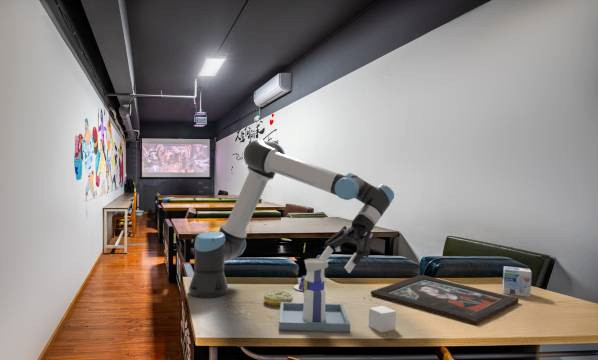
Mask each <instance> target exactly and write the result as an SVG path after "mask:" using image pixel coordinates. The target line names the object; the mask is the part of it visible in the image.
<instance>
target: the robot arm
mask: <svg viewBox="0 0 598 360" xmlns="http://www.w3.org/2000/svg"><path fill="white" fill-rule="evenodd" d="M243 159H244V162H245V164H246V165H247V170H248V174H247V176H246V178H245V181H244V183H243V185H242V187H241V190H240V192H239V194H238V196H237V198H236V200H235V203H234V205H233V208H232V209H231V212H230V214H229V216H228V218H227V221H226V222H225V223H222V224H221V226H220V228H219V230H218V231H216V230H214V231H213V230H212V231H205V232H201V233H199V234H197V235H196V237H195V240H194V245H193V246H194V260H193V261H194V262H193V263H194V264H193V268H194V269H193V275H192V278H191V280H190V284H189V286H188V294H189V295H190V296H193V297H195V298H204V299H206V298H207V299H208V298H210V299H211V298H218V297H219V298H220V297H223V296H225V295H227V294H228V293H229V286H228V282H227V278H226V275H225V262H227V261H231V260H235V259H237V258H238V257H240V256H241V255H242V254H243V253H244V251H245V250H246V247H247V241H246V239H247V235H248V234H247V231H246V230H247V228H248V226H249V224H250V222H251V219H252V217H253V215H254V213H255V210H256V208H257V207H258V203H259V201H260V199H261V198H262V195H263V193H264V191H265V188H266V187H267V184H268V182H269V181H271V180H273V179H274V177H275V176H276V174H277V175H281V176H283V177H286V178H289V179H291V180H294V181H296V182H300V183H302V184H305V185H308V186H311V187H312V188H313V187H314V188H316V189H317V190H318V189H319V190H322V191H324V192H327V193H330V194H333V195H335V196H337V197H338V198H339V199H342V200H345V201H349V200H350V201H351V200H353V199H356V200H357V201H359V202H361V203H362V204H364V205H363V206H362V207H361V208H360V210H359V211H358V212H357V215H356V216H355V217H354V218H353V220H352V221H351V226H349V228H348V227H347V226H346V225H344V226H342V228H341V229H339V231H338V232H336V233H335V234H333V235H331V237H330V238H328V239H327V240H326V241H325V242H324V245H326V247H325V248H324V250H323V251H322V254H321V255H320V256H319V257H318V259H324V260H327V261H328V260H329V258H330V256H331V255H332V253H334V249H336V248H338V247H340V246H341V245H343V244H344V243H349V242H354V243H356V251H355V252H354V253H353V254H352V255H351V257H350V259H349V260H348V261H347V263H346V265H345V266H344V269H345V271H346V272H347V273H349V274H351V272H352V271H353V270H354V269H355V266H356V265H358V264H359V262H360V261H361V260H362V258H368V257H369V256H370V251H371V246H372V240H373V238H374V236H375V235H374V234H373V232H372V231H373V229H375V226H376V225H377V223H379V221H380V219H381V218H382V216H383V215H384V214H385V212H386V211H387V209H388V208H389V206H390V205H391V203H392V202H393V200H394V199H395V193H394V191H393V189H392V188H391V187H390V186H388V185H385V184H379V185H377V186H374V185H372V184H371V183H369V182H367V181H366V180H364V179H362V178H361V177H359V176H358V175H355V174H354V173H352V172H348V173H347V174H345V175H343V174H341V173H337V172H335V171H332V170H329V169H326V168H323V167H321V166H318V165H315V164H312V163H309V162H306V161H304V160H302V159H301V160H300V159H298V158H295V157H293V156H290V155H286V153H285V150H284V148H283V147H282V146H281V145H280V144H278V143H276V142H273V141H269V140H262V139H255V140H251V142H249V143H248V144H247V145H246V146H245V148H244V150H243Z"/></svg>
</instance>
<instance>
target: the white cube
mask: <svg viewBox="0 0 598 360" xmlns="http://www.w3.org/2000/svg"><path fill="white" fill-rule="evenodd" d="M396 316H397V311H396V310H395V309H392V308H389V307H388V306H385V305H379V306H373V307H369V309H368V327H370V328H371V329H374V330H375V331H377V332H379V333H384V332H390V331H393V330H396V320H397V317H396Z"/></svg>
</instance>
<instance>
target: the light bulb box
mask: <svg viewBox="0 0 598 360" xmlns="http://www.w3.org/2000/svg"><path fill="white" fill-rule="evenodd" d="M502 270H503V272H502V275H503V276H502V293H503V295H506V294H507V295H510V296H511V295H513V296H519V297H520V296H521V297H527V298H531V293H532V292H531V290H532V274H533V272H532V271H531V269H530V268H524V267H523V268H522V267H514V266H505V265H504V266H503V269H502Z"/></svg>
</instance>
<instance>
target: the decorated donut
mask: <svg viewBox="0 0 598 360" xmlns="http://www.w3.org/2000/svg"><path fill="white" fill-rule="evenodd" d="M263 300H264V302H265V304H266V305H269V306H273V307H280V305H281V302H293V301H294V297H293V295H292V294H291V293H290V292H288V291H286V290H272V291H267V292H266V293H264V295H263Z"/></svg>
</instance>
